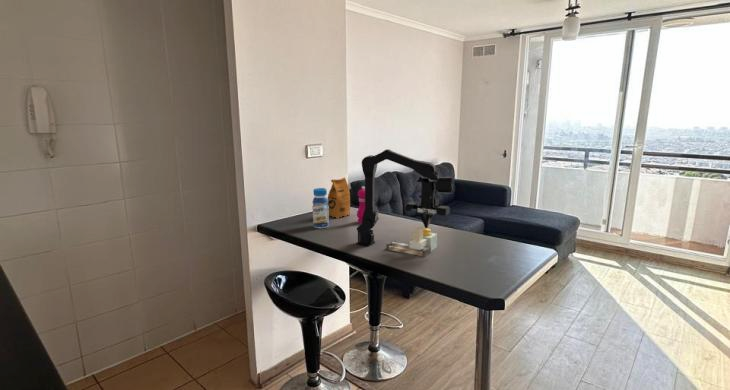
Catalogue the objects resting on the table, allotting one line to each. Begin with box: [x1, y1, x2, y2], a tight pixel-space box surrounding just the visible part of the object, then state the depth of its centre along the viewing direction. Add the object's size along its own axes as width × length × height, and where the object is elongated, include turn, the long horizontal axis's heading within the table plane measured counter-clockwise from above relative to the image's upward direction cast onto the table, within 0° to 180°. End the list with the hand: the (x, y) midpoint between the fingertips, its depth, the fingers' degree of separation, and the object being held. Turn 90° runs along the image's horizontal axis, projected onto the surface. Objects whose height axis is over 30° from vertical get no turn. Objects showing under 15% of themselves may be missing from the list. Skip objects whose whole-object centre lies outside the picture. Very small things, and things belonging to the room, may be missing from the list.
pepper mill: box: [356, 185, 365, 224], centre depth 209 cm, size 7×7×20 cm
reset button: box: [423, 227, 432, 236], centre depth 168 cm, size 3×3×5 cm
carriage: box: [409, 227, 427, 250], centre depth 162 cm, size 5×6×8 cm
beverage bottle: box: [312, 187, 330, 229], centre depth 202 cm, size 8×8×20 cm
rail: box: [386, 239, 432, 258], centre depth 165 cm, size 18×6×2 cm, turn 58°
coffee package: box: [327, 177, 351, 219], centre depth 223 cm, size 10×12×22 cm
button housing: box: [423, 232, 438, 252], centre depth 168 cm, size 7×7×6 cm
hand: (426, 227), depth 167 cm, fingers closed
